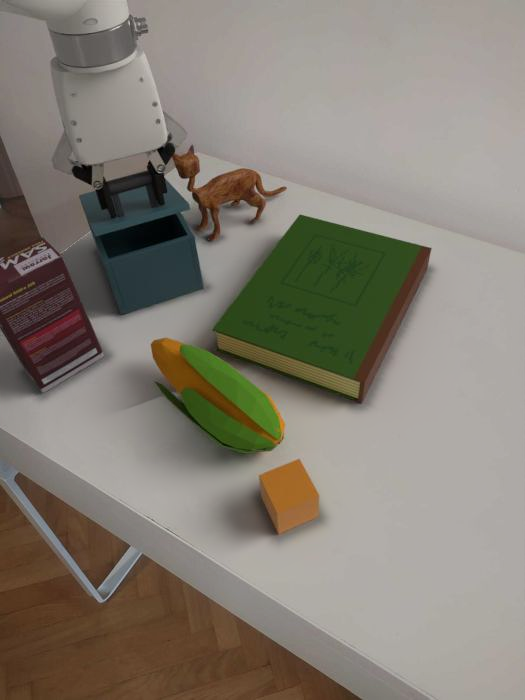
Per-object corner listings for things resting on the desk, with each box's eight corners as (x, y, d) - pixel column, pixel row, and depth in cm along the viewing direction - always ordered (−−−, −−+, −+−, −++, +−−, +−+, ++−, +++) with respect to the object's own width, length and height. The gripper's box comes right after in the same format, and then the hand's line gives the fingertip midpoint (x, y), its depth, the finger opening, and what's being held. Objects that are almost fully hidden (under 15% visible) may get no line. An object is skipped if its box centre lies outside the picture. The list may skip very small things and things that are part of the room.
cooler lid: (190, 209, 67) (180, 167, 64) (94, 237, 65) (80, 194, 62) (162, 178, 79) (152, 142, 77) (80, 200, 77) (67, 163, 74)
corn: (248, 443, 52) (117, 335, 61) (250, 487, 57) (129, 381, 67) (303, 397, 55) (170, 302, 65) (299, 442, 61) (178, 349, 71)
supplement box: (86, 336, 72) (44, 234, 61) (106, 357, 70) (65, 255, 58) (23, 372, 69) (-36, 271, 57) (41, 396, 66) (-17, 296, 55)
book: (362, 403, 63) (364, 382, 60) (215, 350, 70) (212, 329, 67) (428, 266, 77) (433, 244, 75) (302, 232, 84) (301, 211, 81)
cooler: (203, 288, 77) (194, 236, 71) (121, 315, 75) (103, 263, 68) (172, 229, 86) (161, 178, 80) (98, 252, 84) (80, 201, 77)
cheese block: (278, 534, 54) (276, 513, 51) (261, 497, 57) (258, 474, 53) (318, 517, 55) (319, 495, 52) (299, 481, 57) (299, 458, 54)
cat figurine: (274, 185, 92) (270, 101, 82) (300, 203, 89) (299, 118, 78) (179, 231, 86) (161, 146, 76) (202, 252, 82) (188, 166, 72)
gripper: (169, 12, 58) (194, 172, 72) (-3, 45, 55) (58, 208, 68) (192, 36, 54) (214, 203, 67) (5, 75, 50) (68, 243, 63)
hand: (135, 204), depth 67 cm, fingers closed on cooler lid, 5 cm apart
